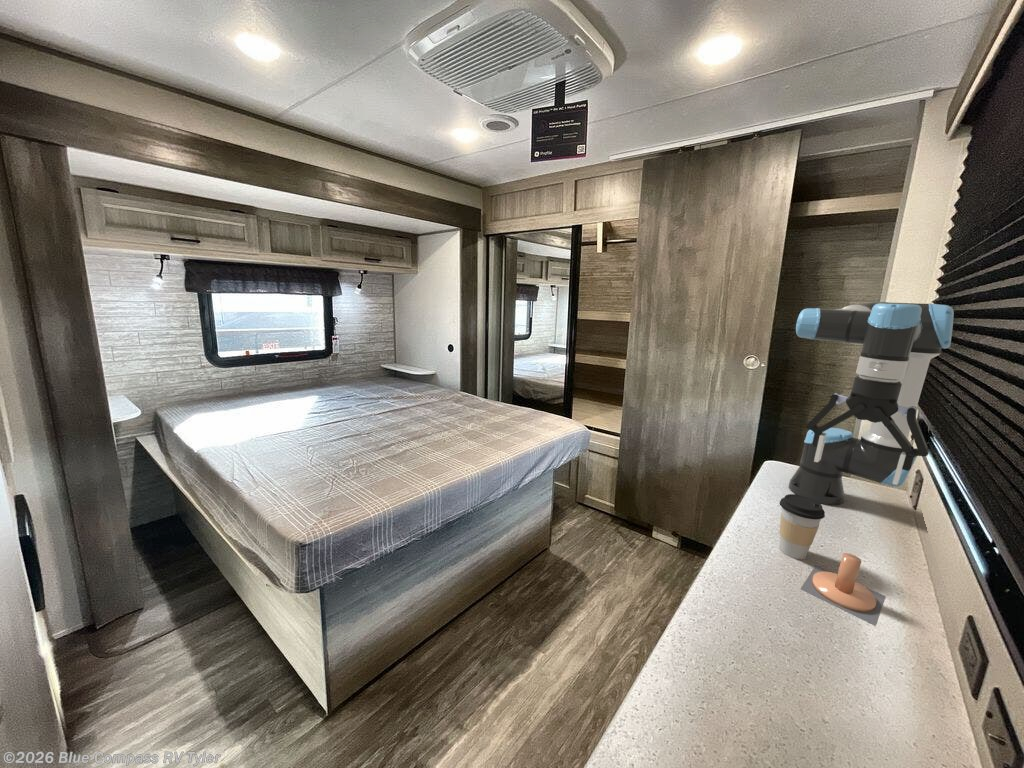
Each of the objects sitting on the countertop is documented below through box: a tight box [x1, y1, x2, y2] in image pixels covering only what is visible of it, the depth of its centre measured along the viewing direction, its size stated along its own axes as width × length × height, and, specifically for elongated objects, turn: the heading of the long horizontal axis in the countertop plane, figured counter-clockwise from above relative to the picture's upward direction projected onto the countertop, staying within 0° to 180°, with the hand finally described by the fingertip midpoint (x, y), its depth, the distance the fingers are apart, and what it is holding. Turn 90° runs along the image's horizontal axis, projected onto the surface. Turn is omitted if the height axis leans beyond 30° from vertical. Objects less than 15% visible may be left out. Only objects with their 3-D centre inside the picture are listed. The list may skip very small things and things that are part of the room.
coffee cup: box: [778, 493, 826, 560], centre depth 103 cm, size 9×9×15 cm
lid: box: [812, 552, 876, 612], centre depth 89 cm, size 11×11×9 cm
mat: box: [800, 565, 886, 627], centre depth 90 cm, size 13×13×1 cm
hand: (854, 471), depth 89 cm, fingers open, 13 cm apart
